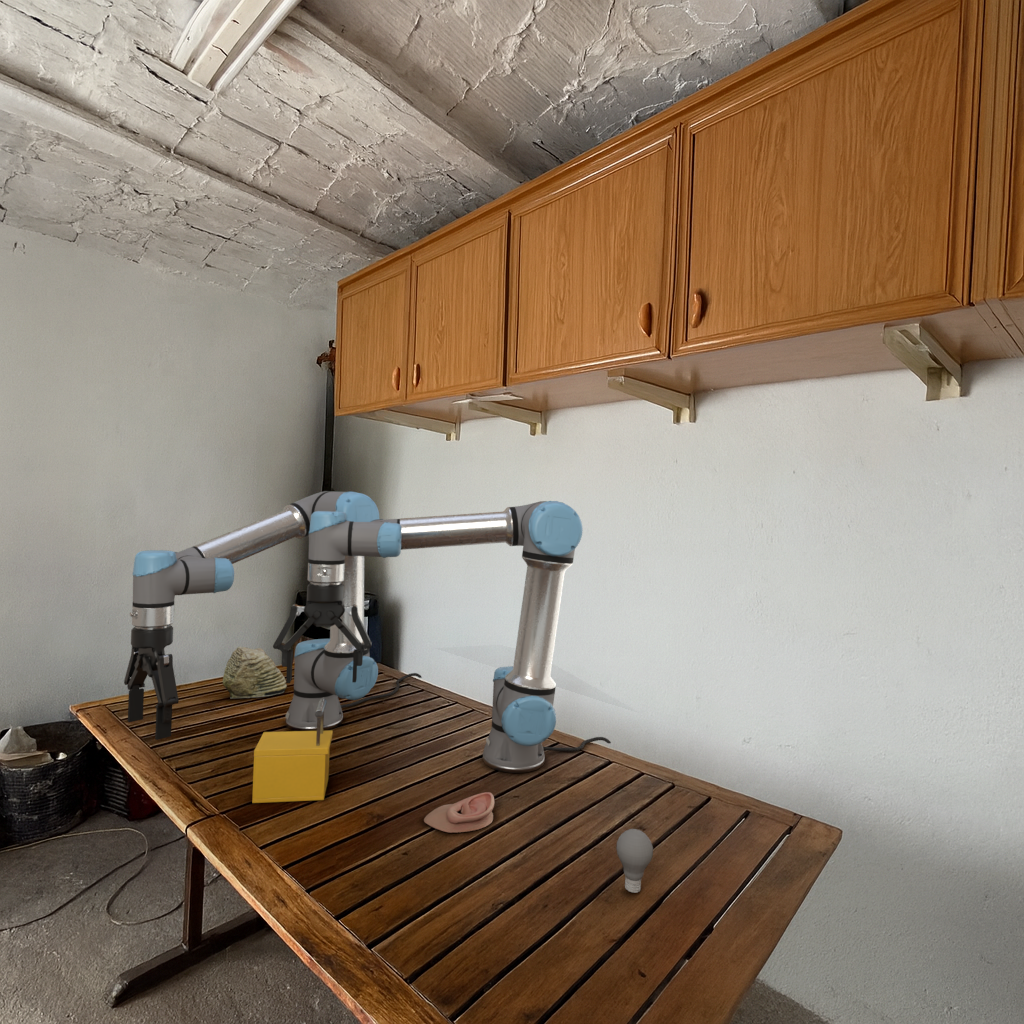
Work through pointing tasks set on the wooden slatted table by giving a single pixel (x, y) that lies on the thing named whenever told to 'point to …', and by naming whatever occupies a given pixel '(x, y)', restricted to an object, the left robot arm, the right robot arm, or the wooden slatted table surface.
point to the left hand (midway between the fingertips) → (148, 728)
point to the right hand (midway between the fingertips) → (322, 681)
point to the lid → (297, 739)
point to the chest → (290, 778)
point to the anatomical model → (463, 814)
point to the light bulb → (634, 857)
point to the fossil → (252, 674)
